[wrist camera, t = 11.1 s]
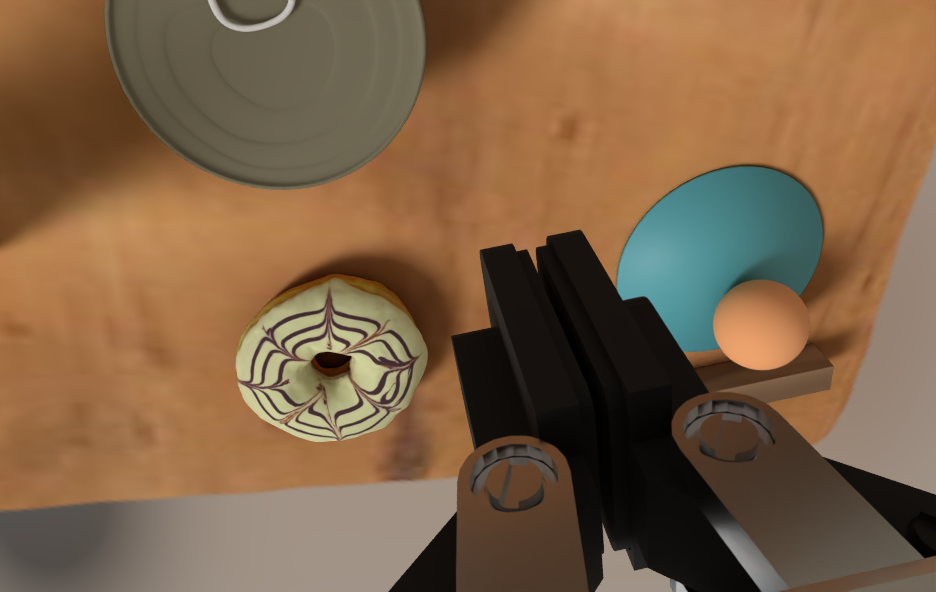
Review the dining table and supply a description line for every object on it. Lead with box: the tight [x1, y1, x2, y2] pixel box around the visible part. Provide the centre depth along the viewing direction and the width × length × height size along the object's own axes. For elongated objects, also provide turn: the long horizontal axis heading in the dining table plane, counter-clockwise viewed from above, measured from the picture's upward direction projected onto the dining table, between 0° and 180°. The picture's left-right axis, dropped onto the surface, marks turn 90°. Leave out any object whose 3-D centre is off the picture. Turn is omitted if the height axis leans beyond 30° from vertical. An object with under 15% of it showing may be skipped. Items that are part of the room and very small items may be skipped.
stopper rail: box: [695, 344, 834, 403], centre depth 50 cm, size 2×14×2 cm, turn 98°
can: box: [104, 0, 426, 190], centre depth 32 cm, size 12×12×7 cm
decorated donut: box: [236, 274, 428, 442], centre depth 44 cm, size 10×11×4 cm
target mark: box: [617, 166, 823, 352], centre depth 46 cm, size 13×13×1 cm
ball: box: [713, 279, 810, 370], centre depth 46 cm, size 6×6×6 cm
